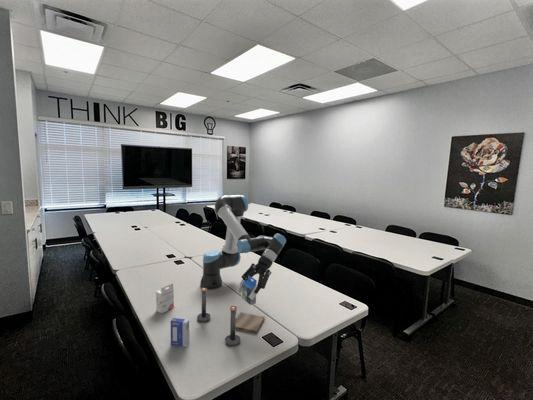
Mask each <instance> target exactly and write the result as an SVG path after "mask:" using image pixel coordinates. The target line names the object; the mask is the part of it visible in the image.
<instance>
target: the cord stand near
mask: <svg viewBox="0 0 533 400" xmlns="http://www.w3.org/2000/svg"><path fill="white" fill-rule="evenodd" d="M237 310H238V307H237V306H235V305H231V306H230V307H229V311H230V324H229V325H230V328H229V329H230V332H229V333H230V334H228V335H227V336H226V337H225V338H224V343H225V345H226V346H228V347H230V348H231V347H236V346H238V345H240V343H241V337H240V336H239V335H238V334H236V330H235V329H236V318H237Z"/></svg>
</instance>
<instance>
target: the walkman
mask: <svg viewBox="0 0 533 400" xmlns="http://www.w3.org/2000/svg"><path fill="white" fill-rule="evenodd" d="M189 344H190V319H187V318H180V317H179V318H177V317H173V318H172V319H171V320H170V345H171V346H177V347H185V348H187V347H188V346H189Z"/></svg>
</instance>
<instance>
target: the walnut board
mask: <svg viewBox="0 0 533 400" xmlns="http://www.w3.org/2000/svg"><path fill="white" fill-rule="evenodd" d="M264 321H265V316H262V315H256V314H252V313H248V312H247V313H246V312H242V311H241V312H240V313H239V314H238V315H237V316H236V329H235V331H242V332H245V333H250V334H255V335H257V334H258V332H259V330H260V328H261V327H262V325H263V323H264Z"/></svg>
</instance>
